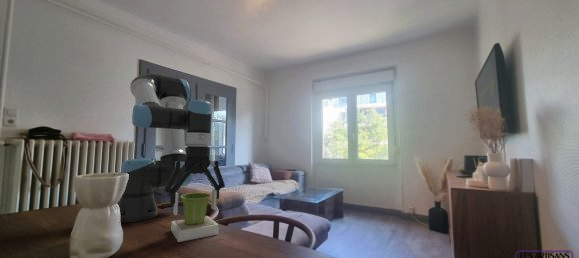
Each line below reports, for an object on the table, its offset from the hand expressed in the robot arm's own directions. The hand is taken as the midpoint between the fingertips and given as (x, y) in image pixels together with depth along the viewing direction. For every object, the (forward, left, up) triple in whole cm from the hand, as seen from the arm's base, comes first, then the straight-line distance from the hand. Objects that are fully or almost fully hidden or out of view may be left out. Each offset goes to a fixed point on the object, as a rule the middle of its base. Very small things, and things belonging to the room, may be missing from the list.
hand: (195, 211), depth 79 cm
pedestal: (0, 0, -7) cm, 7 cm away
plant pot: (0, 0, -4) cm, 4 cm away
